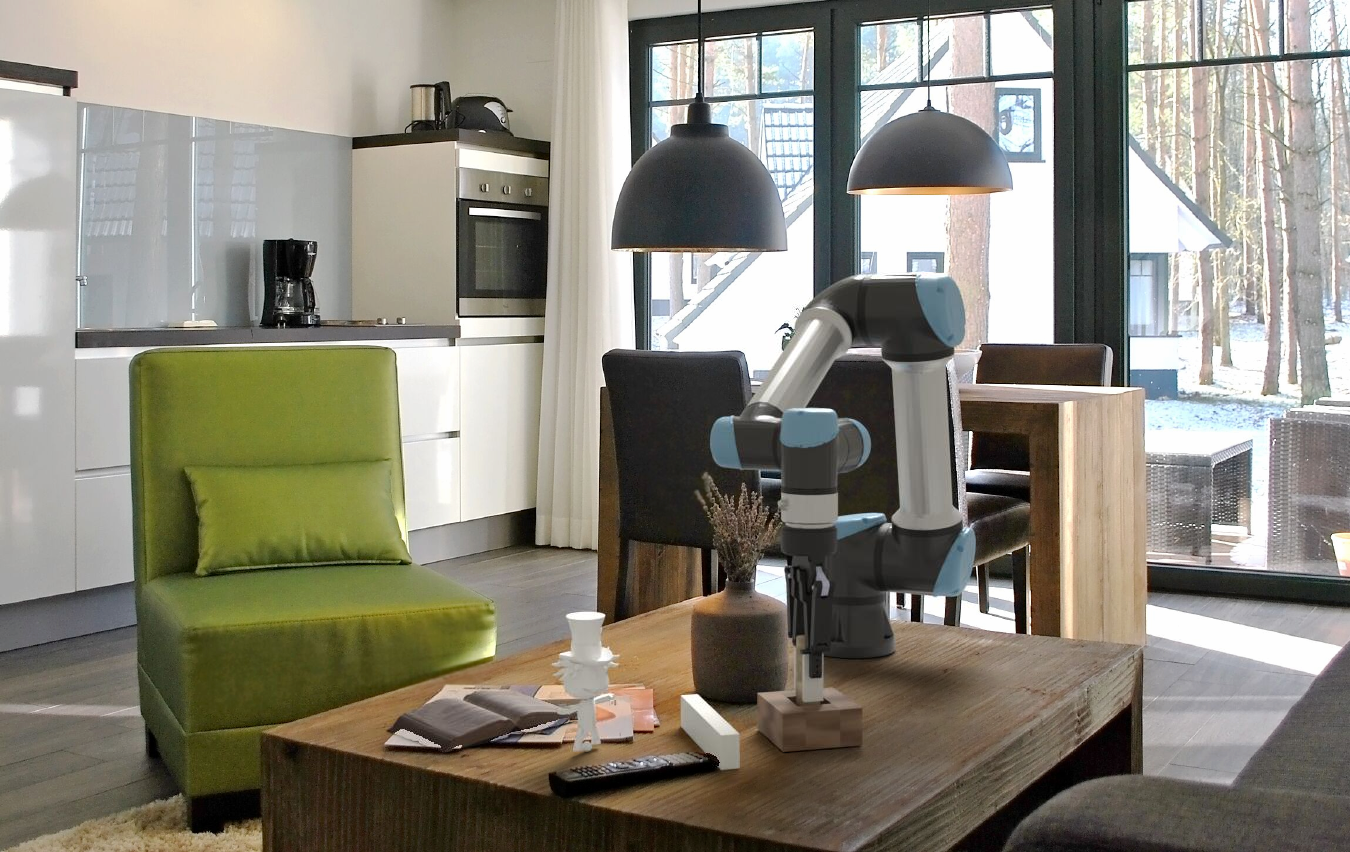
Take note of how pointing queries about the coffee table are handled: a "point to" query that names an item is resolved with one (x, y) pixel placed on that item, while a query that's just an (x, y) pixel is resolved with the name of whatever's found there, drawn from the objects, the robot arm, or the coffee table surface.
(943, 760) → the coffee table surface
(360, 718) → the coffee table surface
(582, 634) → the figurine
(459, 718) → the book
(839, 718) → the block
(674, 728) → the coffee table surface
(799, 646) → the dowel
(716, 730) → the wall
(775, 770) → the coffee table surface
